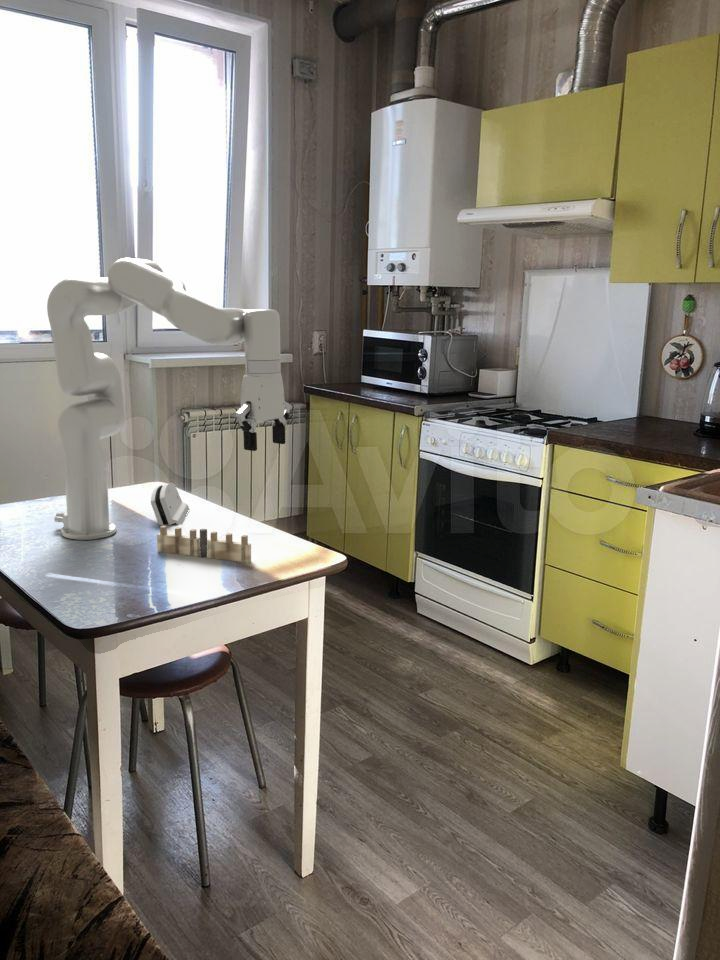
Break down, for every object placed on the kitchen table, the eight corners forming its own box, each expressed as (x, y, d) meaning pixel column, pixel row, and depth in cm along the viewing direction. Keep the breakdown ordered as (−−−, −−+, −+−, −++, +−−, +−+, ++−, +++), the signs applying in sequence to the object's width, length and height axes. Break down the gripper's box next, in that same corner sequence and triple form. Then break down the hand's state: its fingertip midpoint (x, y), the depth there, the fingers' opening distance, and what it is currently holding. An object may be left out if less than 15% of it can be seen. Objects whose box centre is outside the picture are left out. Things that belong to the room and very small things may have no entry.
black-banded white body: (179, 527, 198) (165, 491, 196) (161, 533, 198) (147, 497, 196) (190, 509, 214) (176, 475, 212) (173, 515, 214) (159, 481, 212)
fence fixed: (157, 552, 178) (156, 525, 176) (160, 550, 179) (159, 523, 178) (205, 559, 175) (205, 531, 174) (208, 556, 177) (208, 529, 175)
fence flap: (207, 557, 175) (207, 532, 174) (209, 556, 176) (209, 531, 175) (249, 562, 173) (249, 537, 171) (251, 561, 174) (251, 535, 173)
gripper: (274, 364, 179) (276, 439, 183) (222, 370, 165) (225, 451, 169) (301, 366, 175) (302, 442, 179) (249, 372, 161) (252, 454, 165)
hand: (265, 446), depth 174 cm, fingers open, 9 cm apart
